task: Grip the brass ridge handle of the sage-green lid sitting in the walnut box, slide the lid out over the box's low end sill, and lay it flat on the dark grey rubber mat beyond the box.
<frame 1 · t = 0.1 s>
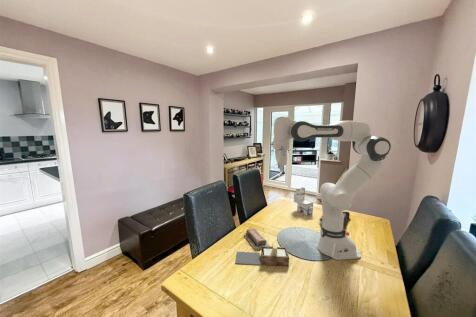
hand: (280, 169, 112), 48 cm above the table, fingers open, 8 cm apart
book: (334, 221, 154), on the table
packaged product: (256, 241, 126), on the table
lid: (274, 253, 107), point 4 cm above the table, touching box
box: (274, 259, 108), on the table
mat: (248, 258, 109), on the table
toy llama: (303, 212, 169), on the table
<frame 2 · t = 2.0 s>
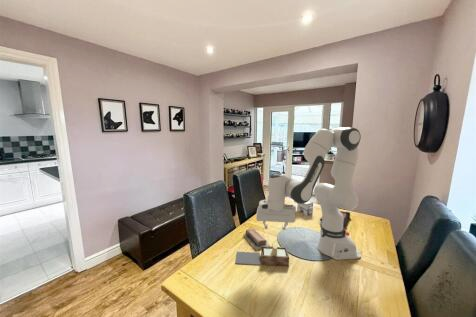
hand: (274, 228, 105), 18 cm above the table, fingers open, 8 cm apart
nothing on the table moved.
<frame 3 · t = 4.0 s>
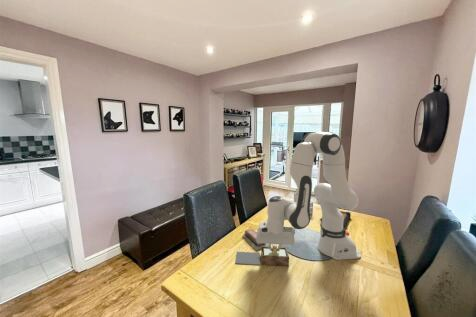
hand: (274, 250, 107), 6 cm above the table, fingers closed on lid
lid: (274, 253, 107), point 4 cm above the table, touching box, gripper
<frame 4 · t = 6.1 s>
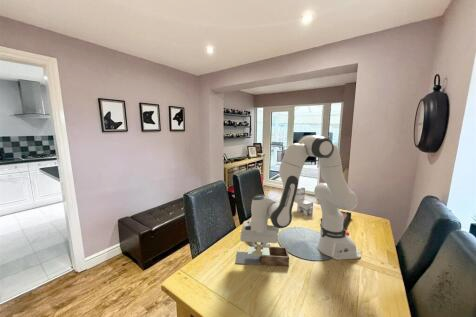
hand: (258, 248, 107), 6 cm above the table, fingers closed on lid
lid: (258, 252, 108), point 4 cm above the table, touching gripper
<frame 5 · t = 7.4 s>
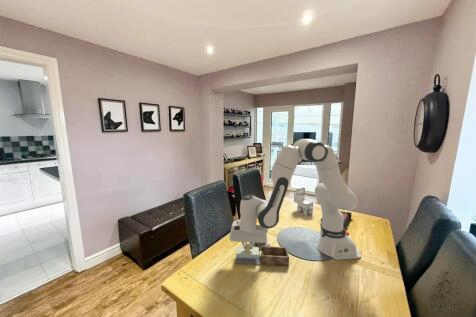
hand: (248, 248, 108), 6 cm above the table, fingers closed on lid
lid: (248, 251, 108), point 4 cm above the table, touching gripper
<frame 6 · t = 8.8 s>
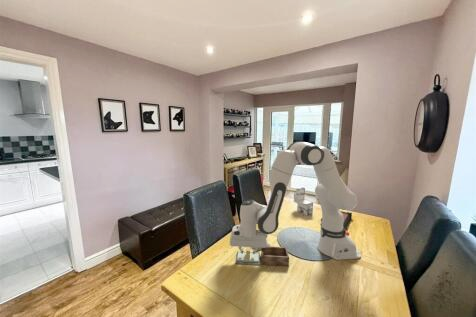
hand: (248, 253, 108), 3 cm above the table, fingers open, 5 cm apart
lid: (248, 257, 109), resting on mat
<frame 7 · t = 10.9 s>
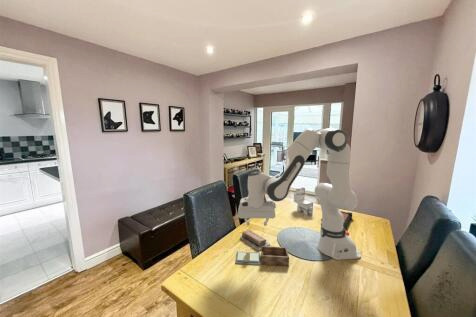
hand: (256, 225, 108), 19 cm above the table, fingers open, 8 cm apart
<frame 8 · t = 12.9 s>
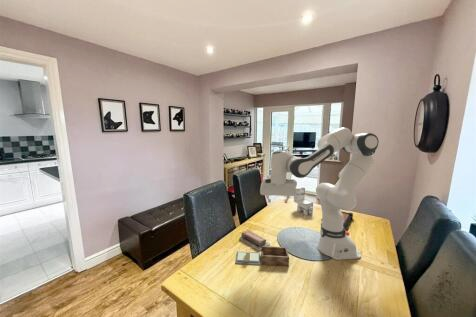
hand: (277, 202, 113), 29 cm above the table, fingers open, 8 cm apart
at the end: lid inside the target area on the mat (0.1 cm from its centre), point 0.4 cm above the mat's base; lid touching mat; lid tilted 0° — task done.
